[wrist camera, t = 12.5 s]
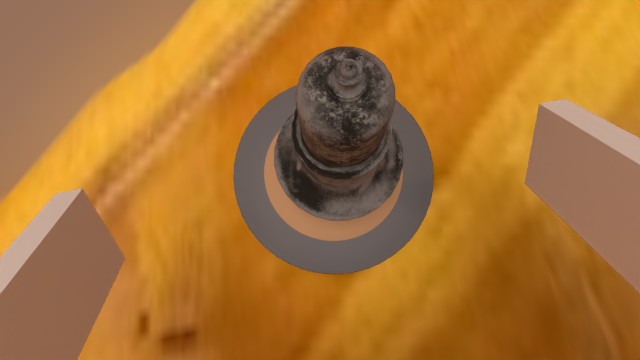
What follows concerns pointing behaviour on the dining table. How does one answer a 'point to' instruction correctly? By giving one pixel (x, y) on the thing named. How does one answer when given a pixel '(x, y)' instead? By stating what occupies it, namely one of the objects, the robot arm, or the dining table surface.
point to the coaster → (320, 234)
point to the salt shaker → (341, 137)
